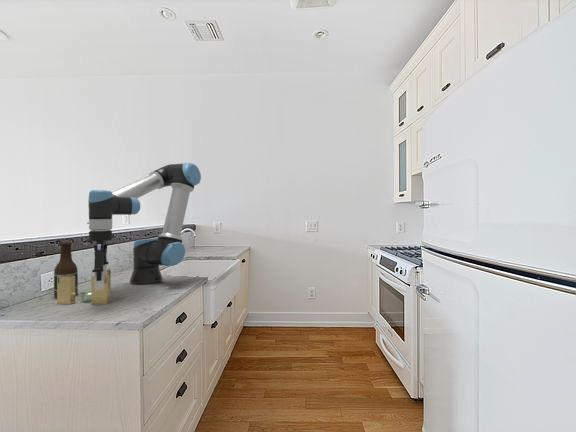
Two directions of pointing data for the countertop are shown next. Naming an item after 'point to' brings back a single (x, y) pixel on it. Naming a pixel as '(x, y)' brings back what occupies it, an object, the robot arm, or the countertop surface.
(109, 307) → the countertop surface
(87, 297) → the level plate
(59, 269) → the beer bottle
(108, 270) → the knob
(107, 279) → the knob
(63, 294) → the tan rectangular block
